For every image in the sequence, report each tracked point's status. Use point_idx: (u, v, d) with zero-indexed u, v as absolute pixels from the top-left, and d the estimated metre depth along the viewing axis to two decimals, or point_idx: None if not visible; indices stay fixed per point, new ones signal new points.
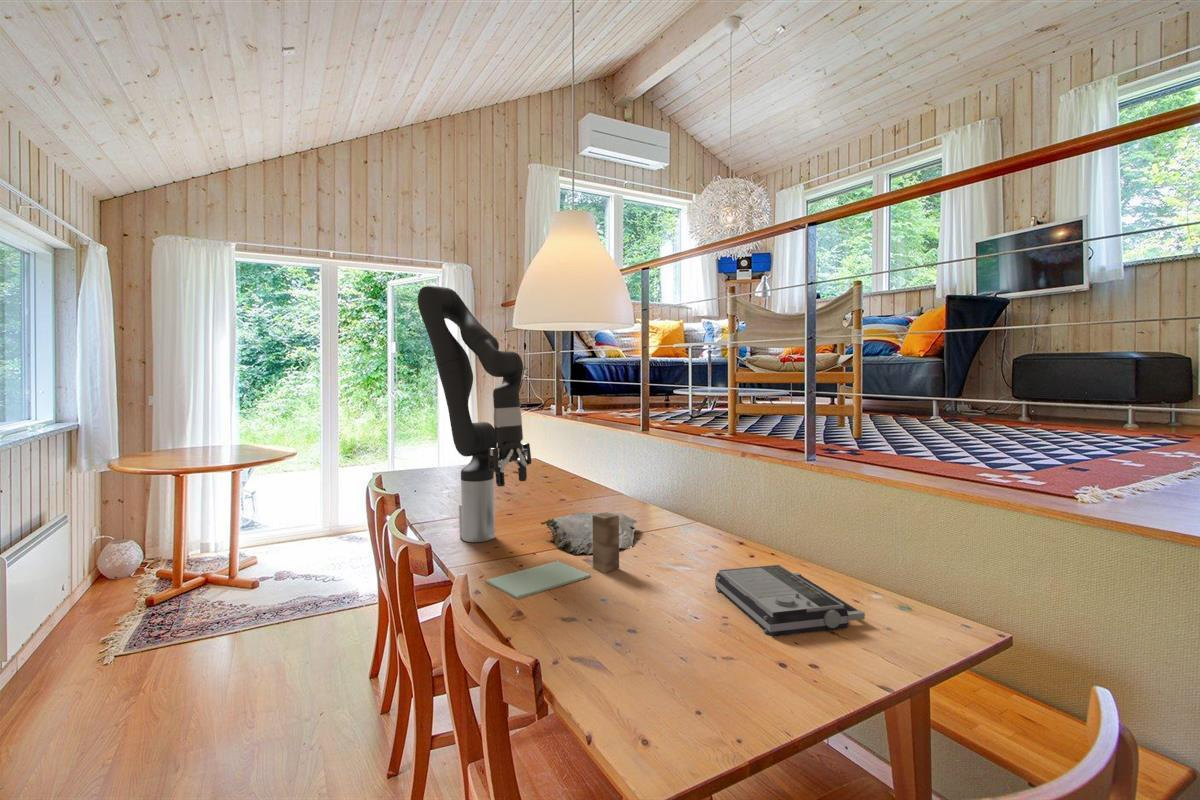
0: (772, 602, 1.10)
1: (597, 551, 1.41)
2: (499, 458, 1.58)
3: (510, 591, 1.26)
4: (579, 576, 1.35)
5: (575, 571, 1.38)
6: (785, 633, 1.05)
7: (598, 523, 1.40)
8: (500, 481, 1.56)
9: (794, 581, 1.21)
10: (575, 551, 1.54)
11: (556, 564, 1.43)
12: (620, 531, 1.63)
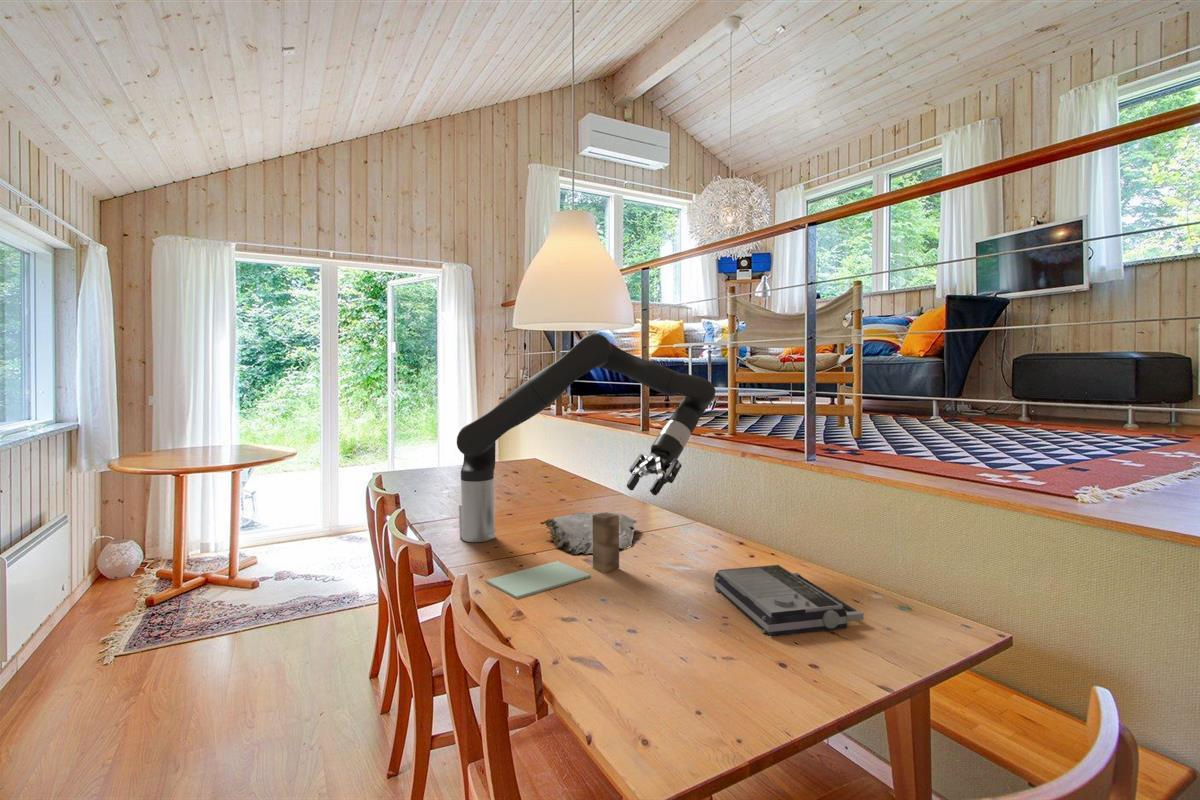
0: (770, 603, 1.10)
1: (597, 551, 1.41)
2: None
3: (510, 591, 1.26)
4: (579, 576, 1.35)
5: (575, 571, 1.38)
6: (784, 633, 1.05)
7: (598, 523, 1.40)
8: None
9: (793, 581, 1.20)
10: (573, 551, 1.54)
11: (556, 564, 1.43)
12: (619, 531, 1.62)
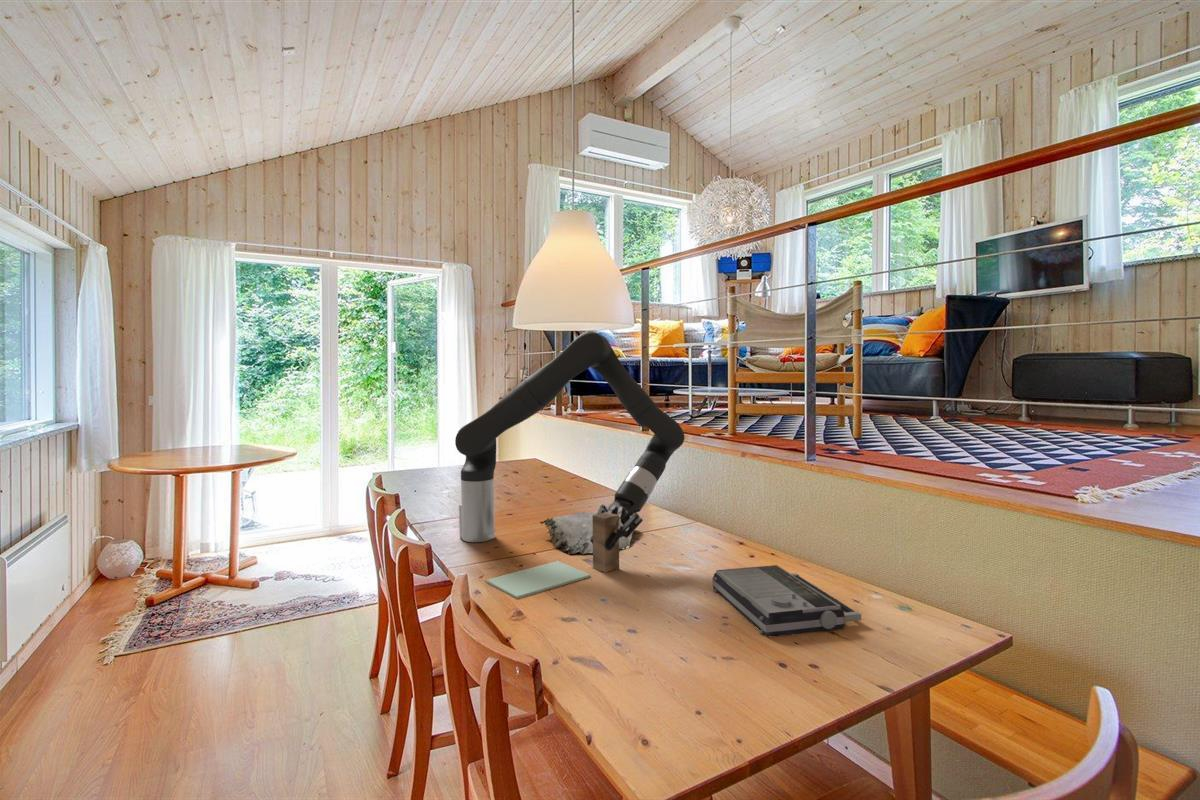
0: (768, 603, 1.10)
1: (597, 551, 1.41)
2: None
3: (510, 591, 1.26)
4: (579, 576, 1.35)
5: (575, 571, 1.38)
6: (781, 634, 1.05)
7: (598, 523, 1.40)
8: None
9: (791, 582, 1.20)
10: (571, 551, 1.54)
11: (556, 564, 1.43)
12: None
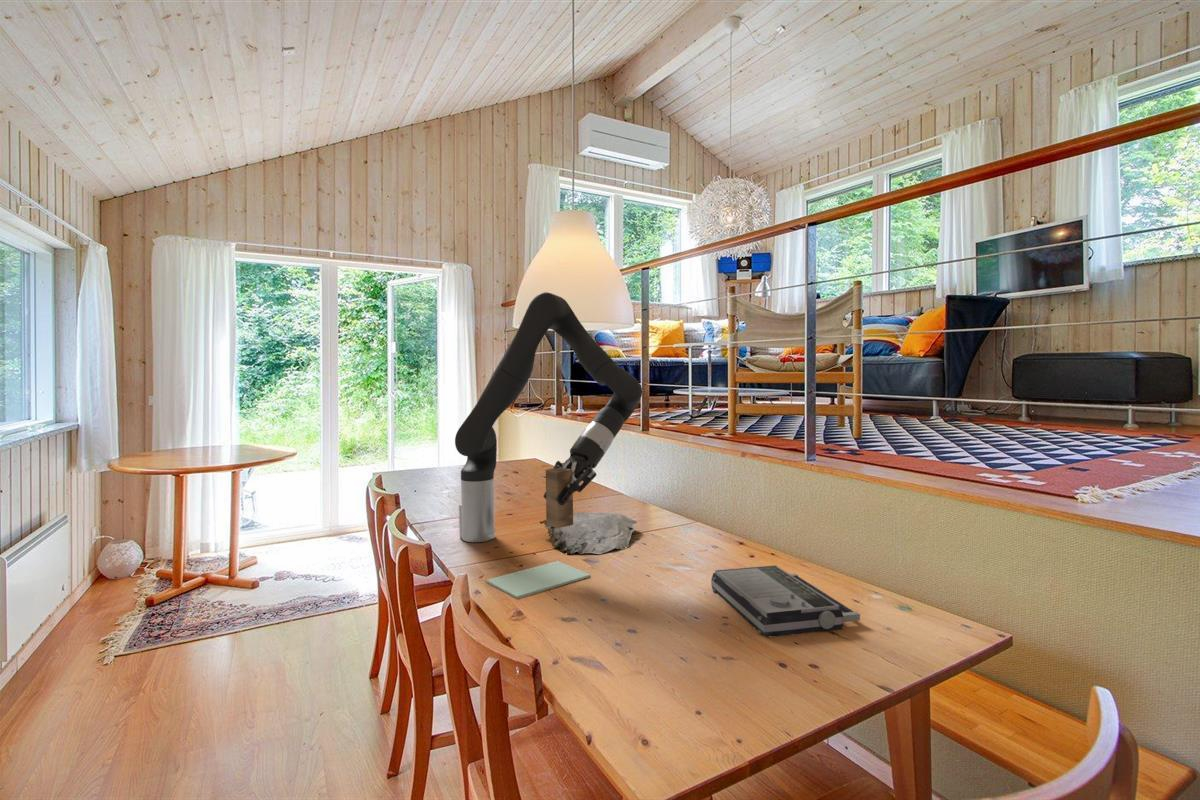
0: (766, 603, 1.09)
1: (550, 506, 1.37)
2: None
3: (510, 591, 1.26)
4: (579, 576, 1.35)
5: (575, 571, 1.38)
6: (779, 634, 1.05)
7: (550, 478, 1.36)
8: None
9: (790, 582, 1.20)
10: (569, 551, 1.54)
11: (556, 564, 1.43)
12: (617, 531, 1.62)
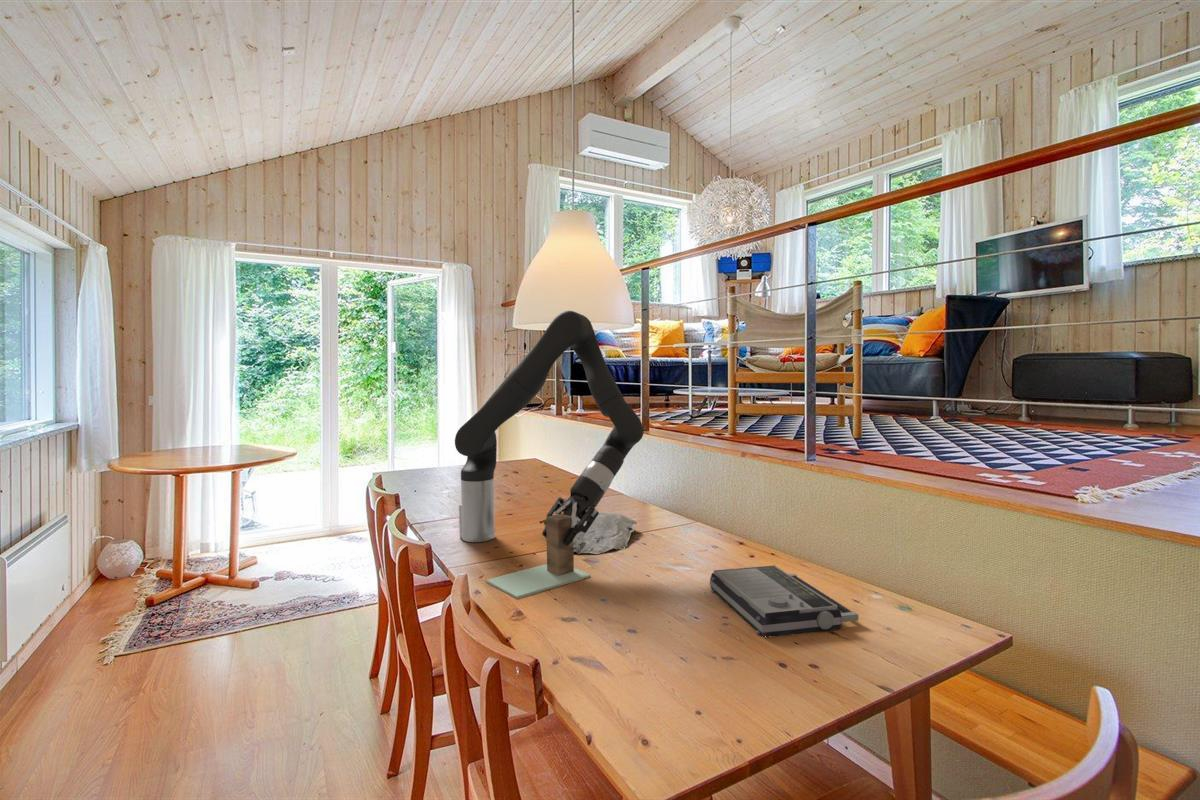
0: (765, 603, 1.09)
1: (551, 554, 1.37)
2: None
3: (510, 591, 1.26)
4: (579, 576, 1.35)
5: (575, 571, 1.38)
6: (777, 634, 1.05)
7: (551, 525, 1.37)
8: None
9: (789, 582, 1.20)
10: None
11: None
12: (615, 532, 1.62)
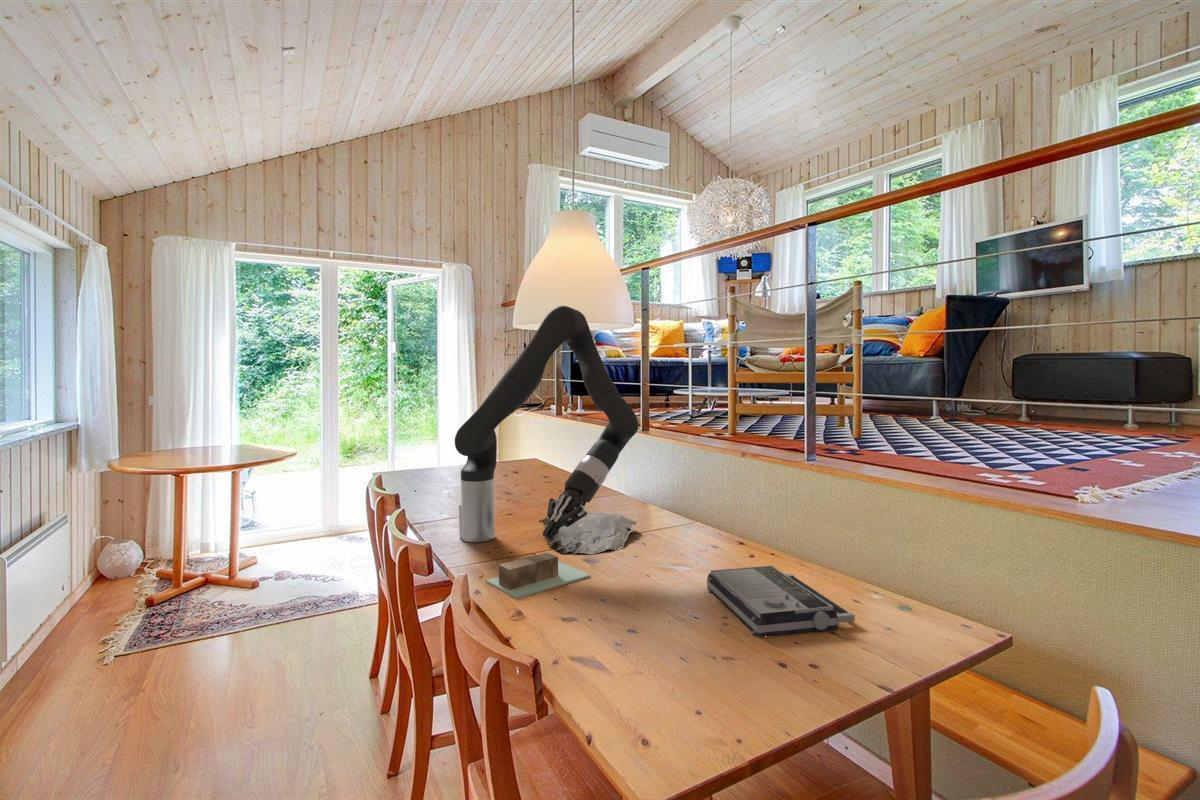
0: (760, 604, 1.09)
1: None
2: None
3: (510, 591, 1.26)
4: (579, 576, 1.35)
5: (575, 571, 1.38)
6: (773, 634, 1.05)
7: None
8: None
9: (785, 582, 1.20)
10: (563, 550, 1.55)
11: None
12: (613, 532, 1.62)
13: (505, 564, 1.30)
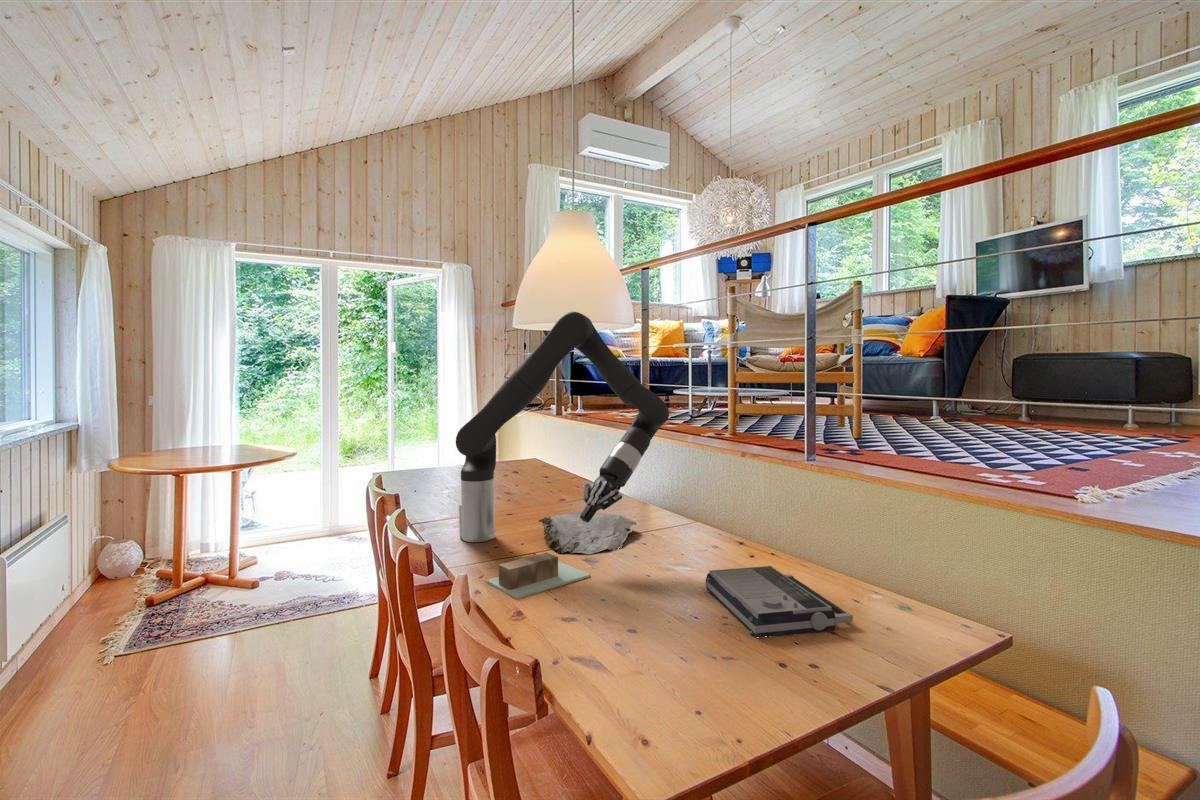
0: (758, 604, 1.09)
1: None
2: None
3: (510, 591, 1.26)
4: (579, 576, 1.35)
5: (575, 571, 1.38)
6: (771, 635, 1.05)
7: None
8: None
9: (784, 583, 1.20)
10: (561, 550, 1.55)
11: None
12: (611, 532, 1.61)
13: (505, 564, 1.30)
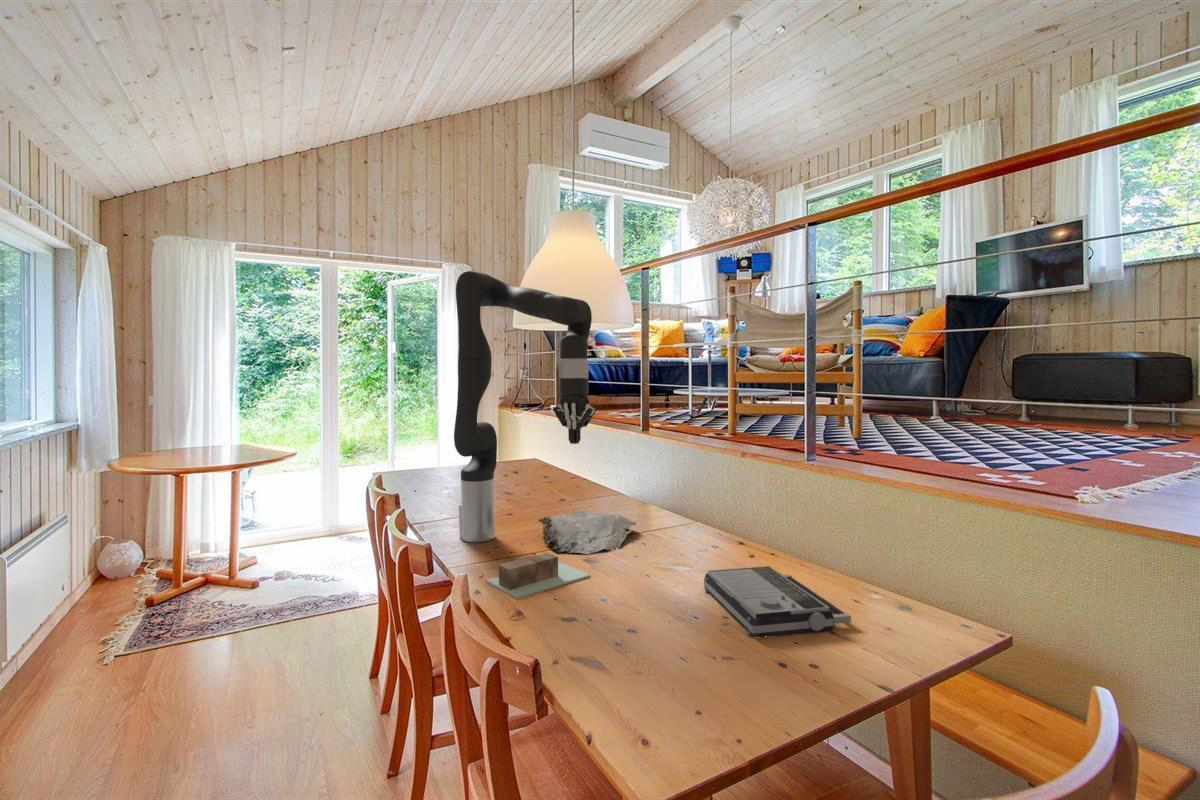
0: (756, 604, 1.09)
1: None
2: None
3: (510, 591, 1.26)
4: (579, 576, 1.35)
5: (575, 571, 1.38)
6: (768, 635, 1.05)
7: None
8: None
9: (782, 583, 1.20)
10: (559, 549, 1.56)
11: None
12: (610, 532, 1.61)
13: (505, 564, 1.30)
